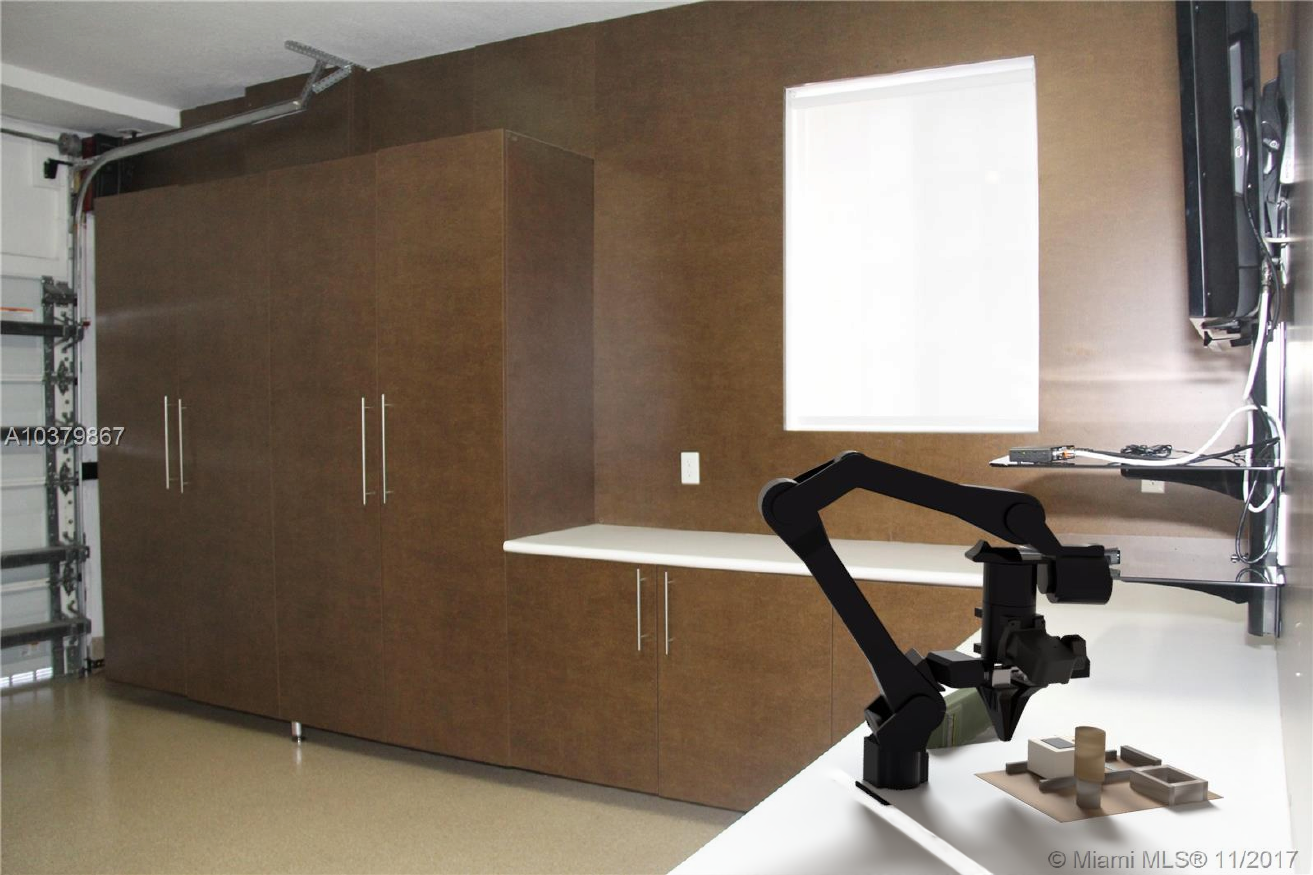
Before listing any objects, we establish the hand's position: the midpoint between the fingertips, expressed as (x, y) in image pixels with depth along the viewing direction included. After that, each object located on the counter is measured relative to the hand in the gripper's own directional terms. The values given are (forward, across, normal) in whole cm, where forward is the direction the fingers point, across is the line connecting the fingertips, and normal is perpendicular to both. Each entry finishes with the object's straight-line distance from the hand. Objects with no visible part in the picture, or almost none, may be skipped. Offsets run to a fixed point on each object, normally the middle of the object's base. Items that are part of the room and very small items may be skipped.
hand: (1004, 740), depth 112 cm
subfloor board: (+6, +10, -4) cm, 12 cm away
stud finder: (+4, +8, 0) cm, 9 cm away
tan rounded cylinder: (+5, +5, -8) cm, 10 cm away
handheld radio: (+7, +11, +20) cm, 24 cm away
